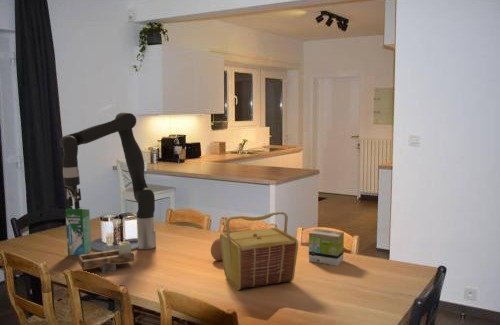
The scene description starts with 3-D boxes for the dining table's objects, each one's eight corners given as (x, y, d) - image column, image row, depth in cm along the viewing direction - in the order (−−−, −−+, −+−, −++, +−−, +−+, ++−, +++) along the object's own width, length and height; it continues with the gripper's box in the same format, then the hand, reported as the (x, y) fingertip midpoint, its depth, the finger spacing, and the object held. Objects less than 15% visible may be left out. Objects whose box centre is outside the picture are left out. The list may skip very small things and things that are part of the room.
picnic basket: (276, 267, 231) (275, 205, 228) (301, 285, 208) (300, 217, 204) (218, 275, 221) (216, 211, 217) (237, 296, 197) (235, 224, 194)
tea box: (308, 262, 239) (308, 232, 237) (315, 256, 247) (315, 228, 246) (337, 266, 232) (338, 236, 230) (343, 260, 240) (344, 231, 239)
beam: (128, 259, 246) (127, 247, 245) (135, 267, 233) (134, 254, 232) (78, 267, 235) (78, 254, 234) (83, 276, 222) (82, 262, 222)
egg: (207, 261, 241) (207, 239, 239) (216, 257, 248) (216, 235, 247) (222, 264, 237) (221, 241, 236) (230, 259, 244) (230, 237, 243)
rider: (129, 254, 241) (128, 240, 240) (131, 256, 237) (130, 242, 236) (118, 255, 239) (118, 241, 238) (121, 258, 234) (120, 244, 233)
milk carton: (91, 250, 263) (89, 205, 260) (84, 255, 254) (81, 208, 251) (75, 250, 264) (73, 205, 261) (67, 255, 255) (65, 208, 252)
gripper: (84, 176, 238) (87, 208, 240) (73, 173, 248) (75, 204, 250) (69, 178, 233) (72, 211, 235) (58, 175, 243) (61, 206, 245)
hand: (73, 207), depth 243 cm, fingers open, 8 cm apart
